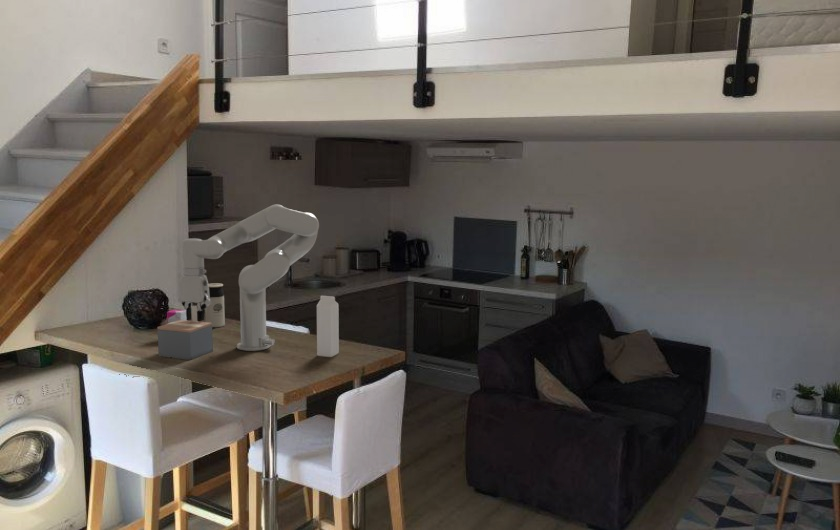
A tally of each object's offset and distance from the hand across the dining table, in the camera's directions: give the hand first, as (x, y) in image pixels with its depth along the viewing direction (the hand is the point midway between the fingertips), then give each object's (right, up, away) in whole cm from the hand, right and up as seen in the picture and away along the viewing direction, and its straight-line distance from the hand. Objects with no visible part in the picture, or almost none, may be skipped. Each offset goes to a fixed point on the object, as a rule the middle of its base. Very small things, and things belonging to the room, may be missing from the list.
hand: (195, 319), depth 262 cm
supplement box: (-13, -9, +17) cm, 23 cm away
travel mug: (-4, -6, +41) cm, 41 cm away
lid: (-2, -2, -5) cm, 6 cm away
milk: (+50, -13, -3) cm, 52 cm away
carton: (-2, -12, -4) cm, 13 cm away
